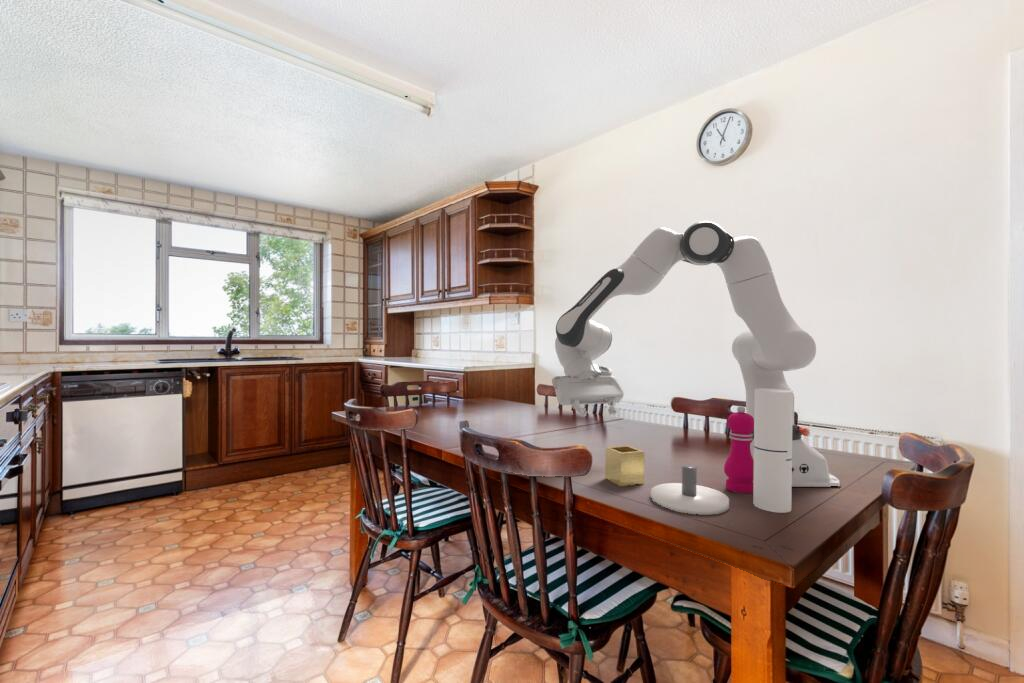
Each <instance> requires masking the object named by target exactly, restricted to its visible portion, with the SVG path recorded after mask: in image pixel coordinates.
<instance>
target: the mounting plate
mask: <svg viewBox="0 0 1024 683" xmlns="http://www.w3.org/2000/svg"><path fill="white" fill-rule="evenodd" d="M697 470H698V468H697V466H694V465H689V464H687V465H686V464H685V465H682V466H681V482H669V483H668V482H665V483H662V484H656V485H655V486H653V487H652V488H651V490H650V498H652V499H651V501H653V502H654V503H655V502H656V503H657V505H658V504H659V505H661V506H660V507H662V506H663V507H662V508H664V507H665V508H664V509H666V508H668V509H667V510H669V509H670V510H671V511H673V510H674V512H677V513H682V514H687V513H688V514H689V515H696V514H698V515H700V516H710V515H713V514H714V515H719V514H723V513H725V512H727V511H728V510H729V509H730V498H729V497H728V496H727V495H726V494H725V493H723V492H721V491H719V490H718V489H714V488H710V487H708V486H703V485H698V484H697V473H698V471H697ZM656 503H655V504H656ZM659 505H658V506H659ZM698 515H697V516H698Z"/></svg>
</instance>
